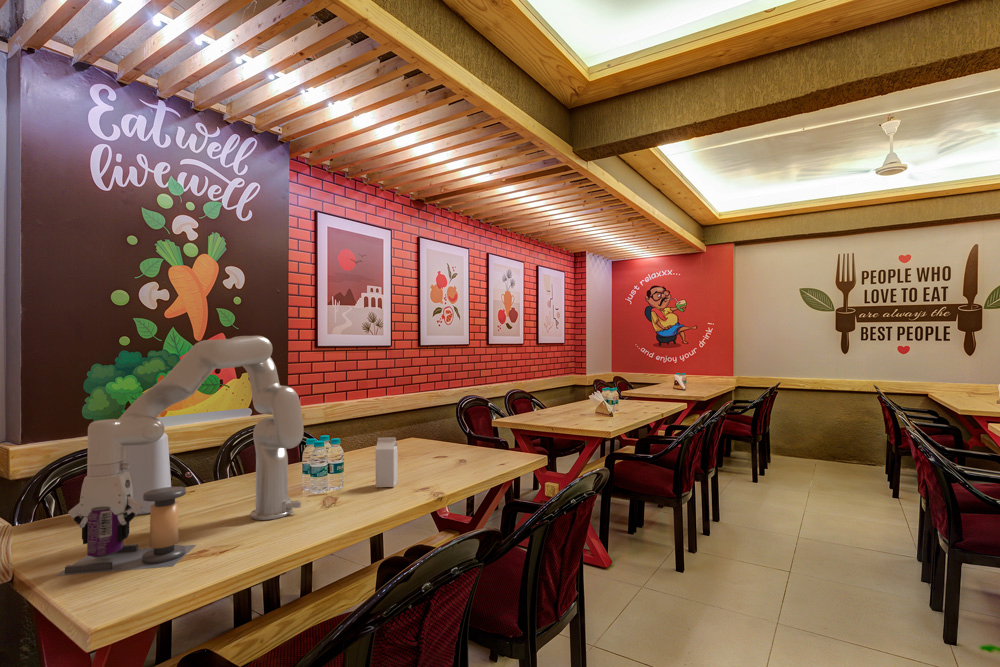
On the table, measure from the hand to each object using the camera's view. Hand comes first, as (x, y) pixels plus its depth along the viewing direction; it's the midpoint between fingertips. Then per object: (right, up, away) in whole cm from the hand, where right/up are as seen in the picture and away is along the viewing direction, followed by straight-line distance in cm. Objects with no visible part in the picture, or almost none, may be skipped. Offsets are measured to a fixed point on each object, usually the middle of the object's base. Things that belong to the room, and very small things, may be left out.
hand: (105, 540), depth 124 cm
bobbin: (+13, -5, +2) cm, 14 cm away
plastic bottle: (-23, -8, +45) cm, 51 cm away
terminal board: (+6, -6, +1) cm, 9 cm away
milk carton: (+54, -9, +72) cm, 90 cm away
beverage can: (0, -3, 0) cm, 3 cm away
